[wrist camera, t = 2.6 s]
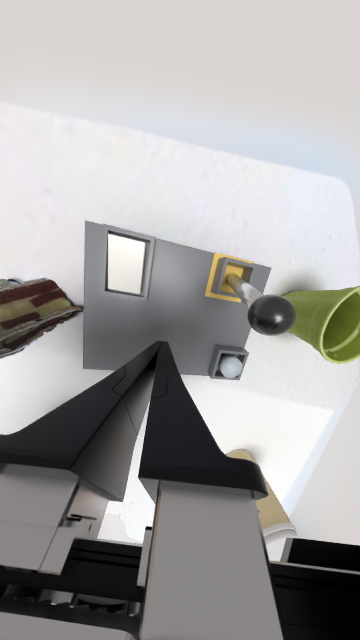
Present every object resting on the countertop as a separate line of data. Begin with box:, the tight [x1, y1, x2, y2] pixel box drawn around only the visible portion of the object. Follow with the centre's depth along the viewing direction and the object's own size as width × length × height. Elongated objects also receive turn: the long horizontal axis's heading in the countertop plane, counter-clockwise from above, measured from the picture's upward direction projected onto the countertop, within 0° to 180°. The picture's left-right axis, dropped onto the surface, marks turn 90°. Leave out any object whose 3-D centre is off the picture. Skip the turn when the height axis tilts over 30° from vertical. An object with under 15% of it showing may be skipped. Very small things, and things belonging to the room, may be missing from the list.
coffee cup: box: [227, 449, 299, 561], centre depth 28 cm, size 9×9×12 cm
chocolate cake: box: [0, 278, 84, 359], centre depth 16 cm, size 10×7×12 cm
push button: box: [219, 355, 242, 378], centre depth 20 cm, size 3×3×1 cm
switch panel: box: [83, 220, 271, 380], centre depth 19 cm, size 17×22×4 cm
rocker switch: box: [108, 234, 146, 294], centre depth 14 cm, size 5×3×1 cm, turn 169°
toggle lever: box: [226, 273, 296, 336], centre depth 13 cm, size 3×3×11 cm
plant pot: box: [282, 286, 360, 364], centre depth 20 cm, size 9×9×9 cm
